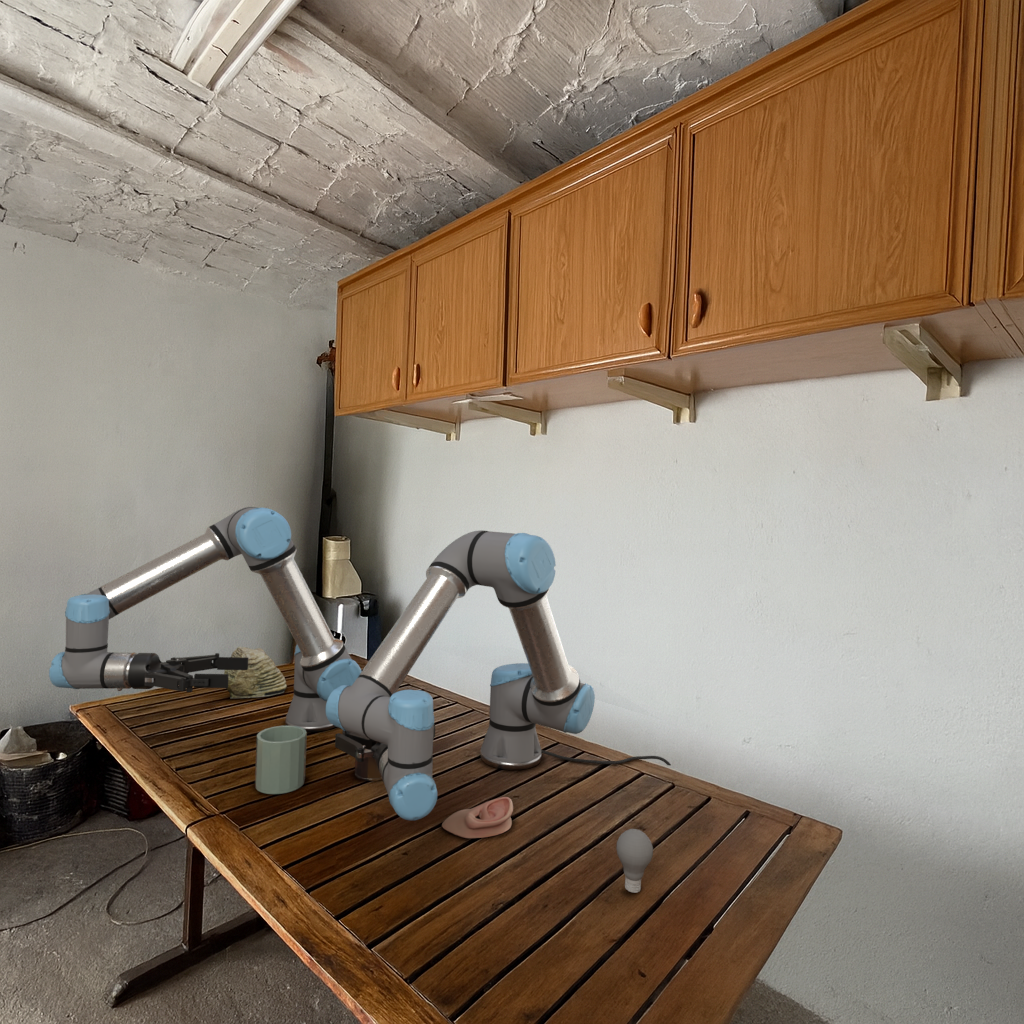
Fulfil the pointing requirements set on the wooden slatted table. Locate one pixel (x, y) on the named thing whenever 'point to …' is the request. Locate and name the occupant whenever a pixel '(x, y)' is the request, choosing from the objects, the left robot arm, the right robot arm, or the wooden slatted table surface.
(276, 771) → the pot
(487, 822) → the anatomical model
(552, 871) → the wooden slatted table surface
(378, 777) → the tumbler
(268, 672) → the fossil
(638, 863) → the light bulb
